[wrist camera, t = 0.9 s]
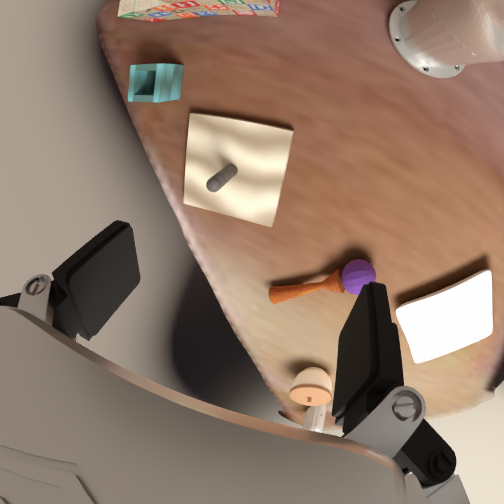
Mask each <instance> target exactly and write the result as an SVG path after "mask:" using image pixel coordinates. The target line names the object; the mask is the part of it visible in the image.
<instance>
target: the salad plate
mask: <svg viewBox="0 0 504 504" xmlns="http://www.w3.org/2000/svg"><path fill="white" fill-rule="evenodd" d="M396 315H397V318H398V321H399V323H400V325H401V327H402V329H403V332H404V334H405V336H406V338H407V341H408V344H409V347H410V350H411V353H412V356H413V359H414V362H415V363H421V362H425V361H428V360H431V359H434V358H436V357H439V356H442V355H445V354H447V353H450V352H453V351H455V350H458V349H460V348H463V347H465V346H467V345H470V344H472V343H474V342H477V341H479V340H481V339H483V338H485V337H487V336H489V335H490V334H491V333H492V329H493V316H492V275H491V271H490V270H488V269H486V270H482V271H479V272H477V273H475V274H473V275H471V276H470V277H468V278H466V279H463V280H461V281H459V282H457V283H455V284H453V285H450V286H448V287H446V288H443V289H441V290H439V291H436V292H434V293H431V294H429V295H426V296H423V297H421V298H418V299H415V300H412V301H409V302H406V303H404V304H402V305H400V306H399V307H398V308H397V309H396Z"/></svg>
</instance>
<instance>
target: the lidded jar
mask: <svg viewBox="0 0 504 504" xmlns="http://www.w3.org/2000/svg"><path fill="white" fill-rule="evenodd" d="M289 395H290V398H291V399H292V400H293V401H295V402H297V403H299V404H302V405H307V406H320V405H324V404H327V403H328V402H329V401H330V400H331V398H332V382H331V379H330V377H329V375H328V374H327V373H326V372H325V371H324V370H323V369H321V368H318V367H308V368H306V369H304V370H303V371H302V372H300V373H299V374H298V375H297V376H296V377H295V379H294V381H293V384H292V387H291V390H290V393H289Z"/></svg>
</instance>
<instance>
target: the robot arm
mask: <svg viewBox="0 0 504 504" xmlns="http://www.w3.org/2000/svg"><path fill="white" fill-rule="evenodd" d="M400 9H401V10H402V11H403V12H402V11H401V10H400ZM388 27H389V34H390V38H391V41H392V43H393V45H394V47H395V49H396V50H397V52H398V53H399V55H400V56H401V57H402V58H403V59H404V60H405V61H406V62H407V63H408V64H409V65H410V66H411V67H413V68H414V69H416V70H417V71H419V72H421V73H423V74H425V75H427V76H430V77H435V78H449V77H453V76H455V75H457V74H459V73H460V72H461V71H462V70H463V68H464V67H465V65H466V64H474V63H484V62H497V61H504V0H410V1H406V2H403V3H401V4H399V5H398V6H397V7H396V8H395V9H394V10H393V12H392V13H391V15H390V18H389V23H388ZM395 39H398V42H397V41H396V40H395ZM455 67H456V69H455ZM423 68H425V69H426V70H425V71H424V69H423ZM52 275H53V277H54V280H53V281H51V279H50V277H49V276H47V275H44V274H40V275H36V276H34V277H32V278H30V279H29V280H28V281H27V282H26V283H25V284H24V287H23V289H22V292H21V293H17V294H13V295H9V296H5V297H1V298H0V504H470V502H469V500H468V497H467V494H466V492H465V489H464V487H463V484H462V482H461V480H460V477H459V475H455V474H454V471H455V467H456V456H455V453H454V451H453V450H452V448H451V447H450V446H449V445H448V444H447V443H446V442H445V441H444V440H443V439H442V437H441V436H440V435H439V434H438V433H437V432H436V431H435V430H434V429H433V428H432V427H431V426H430V425H429V423H428V422H427V421H426V420H425V419H424V416H425V412H426V405H425V401H424V399H423V397H422V395H421V394H420V393H419V392H418V391H417V390H415V389H414V388H412V387H409V386H404V379H403V368H402V358H401V350H400V342H399V335H398V328H397V325H396V324H395V323H392V320H391V314H390V307H389V301H388V296H387V290H386V286H385V284H381V283H377V282H373V281H370V282H369V284H364V285H363V287H362V289H361V291H360V293H359V295H358V298H357V300H356V302H355V304H354V306H353V308H352V310H351V312H350V315H349V317H348V319H347V321H346V323H345V325H344V327H343V329H342V331H341V333H340V336H339V343H338V357H337V370H336V381H335V391H334V400H333V408H332V416H334V417H336V420H335V424H336V425H343V433H344V434H343V435H342V436H341V437H338V436H334V435H329V434H324V433H320V432H315V431H310V430H305V429H300V428H295V427H291V426H286V425H282V424H278V423H274V422H270V421H266V420H262V419H258V418H254V417H251V416H247V415H243V414H240V413H237V412H233V411H230V410H227V409H224V408H220V407H217V406H214V405H211V404H208V403H205V402H203V401H200V400H197V399H194V398H192V397H189V396H186V395H184V394H181V393H179V392H176V391H174V390H171V389H169V388H166V387H164V386H161V385H159V384H157V383H155V382H152V381H150V380H148V379H146V378H143V377H141V376H139V375H137V374H135V373H133V372H131V371H129V370H127V369H125V368H122V367H121V366H119V365H117V364H115V363H113V362H111V361H109V360H107V359H105V358H104V357H102V356H100V355H98V354H96V353H94V352H93V351H91V350H89V349H87V348H86V347H84V346H82V345H81V344H79V343H77V342H76V335H77V333H79V335H80V336H82V337H83V338H85V339H86V340H88V341H89V340H90V339H91V338H92V336H94V335H96V334H97V333H98V332H99V330H100V329H101V328H102V327H103V326H104V324H105V323H106V322H107V321H108V320H109V318H110V317H111V316H112V315H113V314H114V312H115V311H116V310H117V309H118V307H119V306H120V305H121V304H122V303H123V302H124V300H125V299H126V298H127V297H128V296H129V294H130V293H131V292H132V291H133V290H134V289H135V288H136V286H137V285H138V284H139V282H140V272H139V267H138V261H137V255H136V249H135V242H134V235H133V229H132V227H131V226H130V224H129V223H127V222H123V221H119V220H117V221H114V222H113V223H112V224H110V225H109V226H108V227H106V228H105V229H104V230H103V231H101V232H100V233H99V234H97V235H96V236H95V237H94V238H92V239H91V240H90V241H89V242H88V243H86V244H85V245H84V246H83V247H81V248H80V249H79V250H78V251H76V252H75V253H74V254H73V255H72V256H70V257H69V258H68V259H67V260H66V261H65V262H63V263H62V264H61V265H60V266H59V267H58V268H57V269H55V271H53V272H52Z"/></svg>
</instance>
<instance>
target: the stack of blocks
mask: <svg viewBox="0 0 504 504" xmlns="http://www.w3.org/2000/svg"><path fill="white" fill-rule="evenodd" d="M279 5H280V0H121V1H120V5H119V11H118V17H123V18H133V19H138V20H145V21H150V22H156V21H161V20H171V19H178V18H187V17H198V16H206V15H227V14H237V15H260V16H275V17H277V16H278V13H279Z"/></svg>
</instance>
